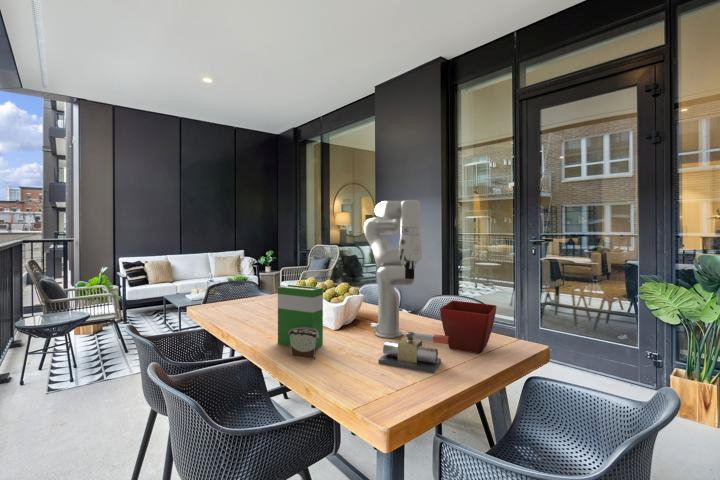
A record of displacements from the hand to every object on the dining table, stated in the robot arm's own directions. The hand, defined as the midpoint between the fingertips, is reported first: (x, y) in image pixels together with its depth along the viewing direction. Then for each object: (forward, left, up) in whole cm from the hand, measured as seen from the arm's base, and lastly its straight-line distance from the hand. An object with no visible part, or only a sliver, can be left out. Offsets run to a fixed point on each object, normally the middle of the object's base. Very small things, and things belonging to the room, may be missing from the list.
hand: (409, 278), depth 141 cm
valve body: (+4, -11, -29) cm, 31 cm away
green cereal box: (-44, -11, -29) cm, 54 cm away
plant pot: (+20, +17, -29) cm, 39 cm away
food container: (-34, -21, -29) cm, 50 cm away
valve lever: (+10, -11, -20) cm, 25 cm away
